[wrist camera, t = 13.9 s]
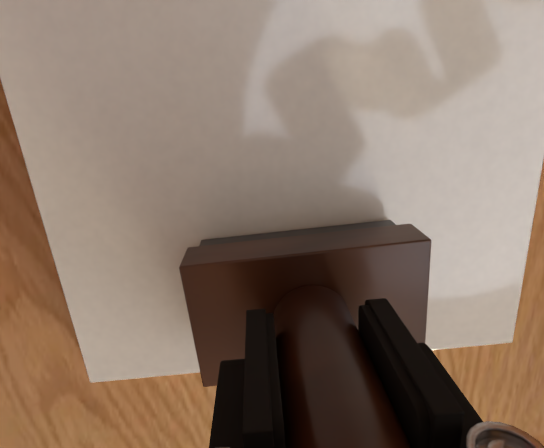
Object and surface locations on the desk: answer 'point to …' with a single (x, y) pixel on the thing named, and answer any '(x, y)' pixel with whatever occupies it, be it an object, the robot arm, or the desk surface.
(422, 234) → the stamp
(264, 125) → the tile
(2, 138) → the desk surface
